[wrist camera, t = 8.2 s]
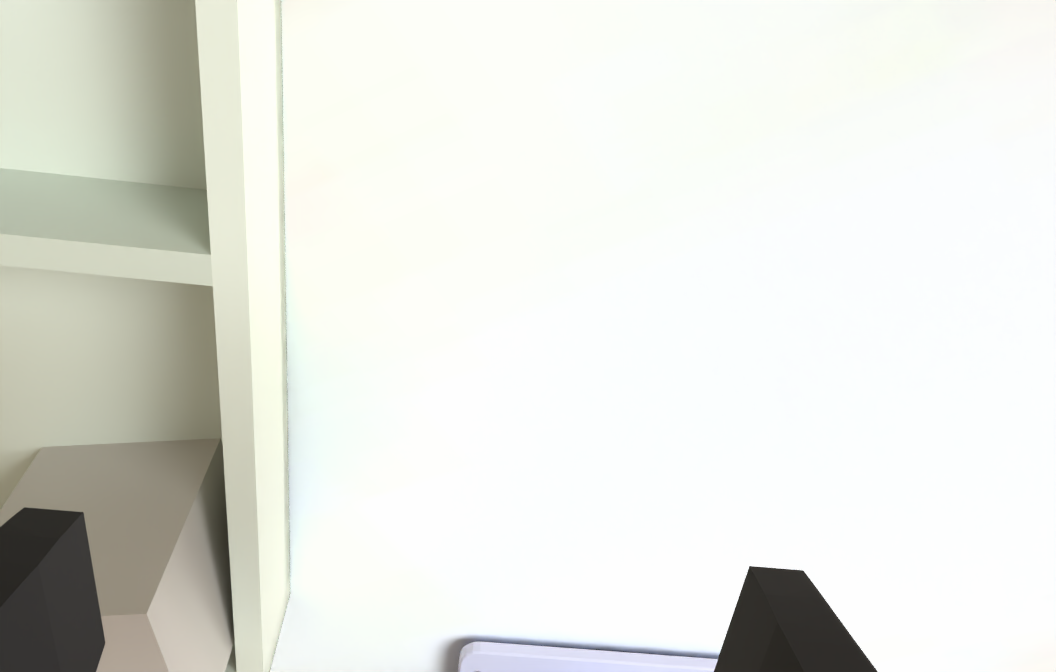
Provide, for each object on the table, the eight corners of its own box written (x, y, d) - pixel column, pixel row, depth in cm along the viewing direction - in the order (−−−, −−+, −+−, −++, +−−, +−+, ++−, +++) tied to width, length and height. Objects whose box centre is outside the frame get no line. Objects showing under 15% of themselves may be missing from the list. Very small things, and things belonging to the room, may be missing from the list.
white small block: (257, 567, 23) (199, 752, 19) (95, 574, 23) (2, 760, 19) (220, 438, 21) (146, 613, 17) (42, 447, 21) (-76, 624, 17)
